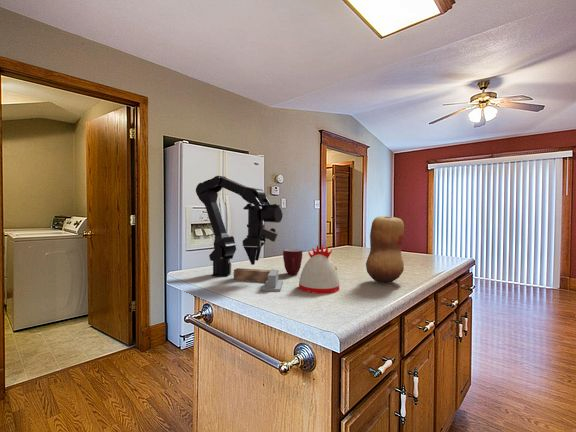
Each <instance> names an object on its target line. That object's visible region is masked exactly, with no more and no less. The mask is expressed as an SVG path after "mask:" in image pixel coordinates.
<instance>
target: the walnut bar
mask: <svg viewBox="0 0 576 432" xmlns="http://www.w3.org/2000/svg"><path fill="white" fill-rule="evenodd" d="M271 270H272V269H259V268H257V269H256V268H235V269H233V280H234V281H235V280H237V281H250V282H251V281H252V282H262V283H263V282H265V283H266V281H267V280H268V274H269V273H270V271H271Z"/></svg>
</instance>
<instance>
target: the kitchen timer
mask: <svg viewBox="0 0 576 432" xmlns="http://www.w3.org/2000/svg"><path fill="white" fill-rule="evenodd" d="M332 251H333V249H331V250H330V251H329V246H328V245H327V246H326V249H325V251H324V246H323V245H321V246H320V248H319V245H318V244H317V245H316V250H315V248H314V247H312V254H311V252H310V251H307V252H308V253H307V254H308V255H309V259H308V260H307V261H306V263H305V264H304V266H303V267H302V270H301V273H300V275H299V276H300V277H299V281H298V288H299V290H300V291H301V292H302V291H303V292H306V293H310V294H318V295H321V294H322V295H323V294H333V293H337V292H338V291H340V278H339V275H338V274H339V273H338V271H337V269H338V268H337V267H336V266H335V264H334V263H333V262H332V261H331V259H330V258H329V257H330V256H331V254H332Z"/></svg>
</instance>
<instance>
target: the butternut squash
mask: <svg viewBox="0 0 576 432" xmlns="http://www.w3.org/2000/svg"><path fill="white" fill-rule="evenodd" d="M404 238H405V225H404V221H403V220H402V219H401V218H398V217H394V216H393V217H392V216H389V215H388V216H387V215H381V216H379V215H378V216H376V217H375V218H374V219H373V220H372V222H371V227H370V232H369V242H370V243H369V245H370V251H369V254H368V257H367V259H366V262H365V269H366V273H367V274H368V275H369V277H370V278H371V279H372V280H373V281H375V282H376V283H379V284H388V283H389V284H390V283H393V282H394V281H396V280H398V279H399V278H400V276H402V274H403V272H404V268H405V266H404V263H405V262H404V259H403V256H402V255H403V254H402V247H403V242H404Z"/></svg>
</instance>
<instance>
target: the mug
mask: <svg viewBox="0 0 576 432" xmlns="http://www.w3.org/2000/svg"><path fill="white" fill-rule="evenodd" d="M282 259H283V264H284V265H283V266H284V269H285V271H286V273H287V274H288V275H290V276H296V275H298V274H299V272H300V269H301V266H302V260H303V249H299V248H298V249H297V248H296V249H295V248H289V249H288V248H287V249H283V250H282Z"/></svg>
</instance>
